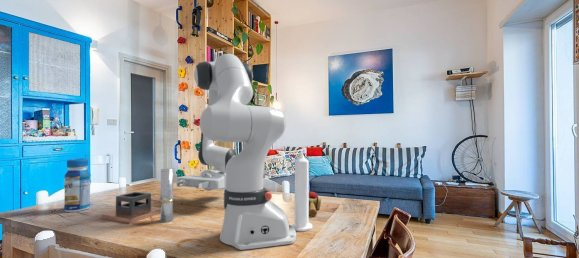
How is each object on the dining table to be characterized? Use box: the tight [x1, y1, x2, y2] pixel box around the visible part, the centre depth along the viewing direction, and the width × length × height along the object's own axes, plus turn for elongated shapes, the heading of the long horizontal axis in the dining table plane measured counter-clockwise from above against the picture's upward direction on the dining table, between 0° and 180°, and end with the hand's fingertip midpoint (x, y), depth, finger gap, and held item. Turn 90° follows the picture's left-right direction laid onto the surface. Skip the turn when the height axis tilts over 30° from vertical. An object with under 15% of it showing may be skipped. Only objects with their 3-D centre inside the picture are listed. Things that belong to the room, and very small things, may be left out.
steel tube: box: [159, 167, 175, 223], centre depth 94 cm, size 4×4×18 cm
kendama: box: [309, 191, 322, 218], centre depth 107 cm, size 8×6×18 cm
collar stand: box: [101, 191, 161, 224], centre depth 99 cm, size 14×14×8 cm
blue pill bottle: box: [63, 158, 92, 213], centre depth 107 cm, size 8×8×20 cm
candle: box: [290, 150, 313, 232], centre depth 87 cm, size 7×7×25 cm
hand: (187, 185), depth 103 cm, fingers open, 8 cm apart
